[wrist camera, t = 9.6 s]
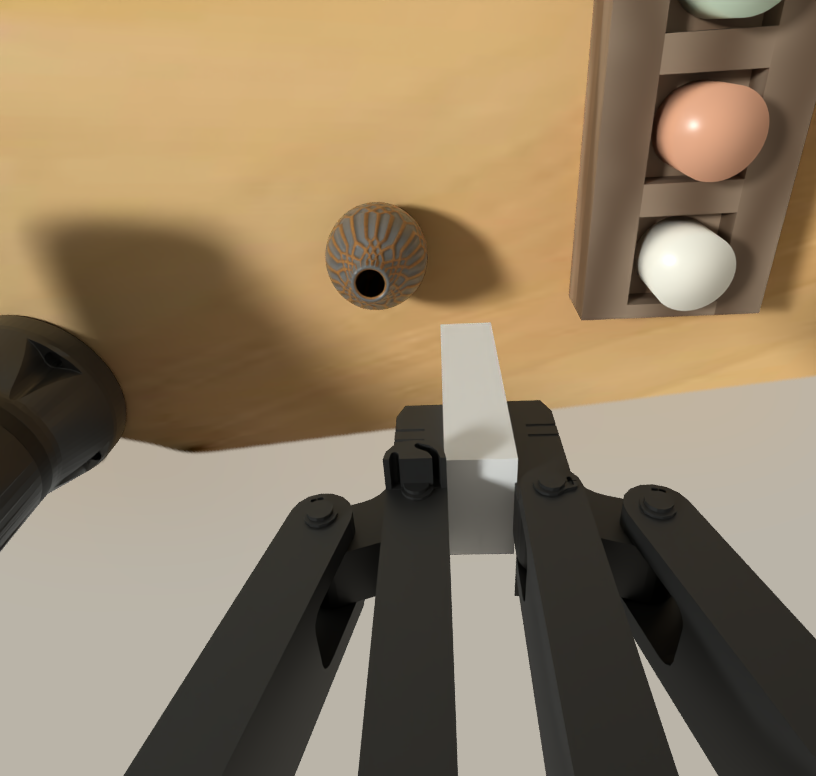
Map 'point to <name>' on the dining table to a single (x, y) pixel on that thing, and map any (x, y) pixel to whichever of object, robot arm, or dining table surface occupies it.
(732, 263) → the button cream
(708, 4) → the button sage
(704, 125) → the button terracotta
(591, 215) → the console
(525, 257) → the dining table surface
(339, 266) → the vase
